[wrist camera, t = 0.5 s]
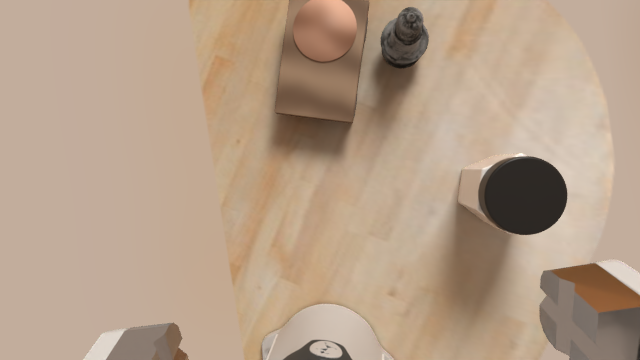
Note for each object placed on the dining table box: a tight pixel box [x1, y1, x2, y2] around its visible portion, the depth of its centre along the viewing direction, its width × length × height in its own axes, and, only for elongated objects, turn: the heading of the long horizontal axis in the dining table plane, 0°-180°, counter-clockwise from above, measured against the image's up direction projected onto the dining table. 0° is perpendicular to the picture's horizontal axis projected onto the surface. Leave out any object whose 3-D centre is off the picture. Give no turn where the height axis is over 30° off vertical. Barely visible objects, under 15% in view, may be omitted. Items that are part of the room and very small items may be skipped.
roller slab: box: [275, 0, 369, 123], centre depth 52 cm, size 15×10×5 cm, turn 172°
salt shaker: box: [381, 7, 428, 68], centre depth 47 cm, size 6×6×12 cm
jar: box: [458, 153, 567, 235], centre depth 46 cm, size 9×8×12 cm
